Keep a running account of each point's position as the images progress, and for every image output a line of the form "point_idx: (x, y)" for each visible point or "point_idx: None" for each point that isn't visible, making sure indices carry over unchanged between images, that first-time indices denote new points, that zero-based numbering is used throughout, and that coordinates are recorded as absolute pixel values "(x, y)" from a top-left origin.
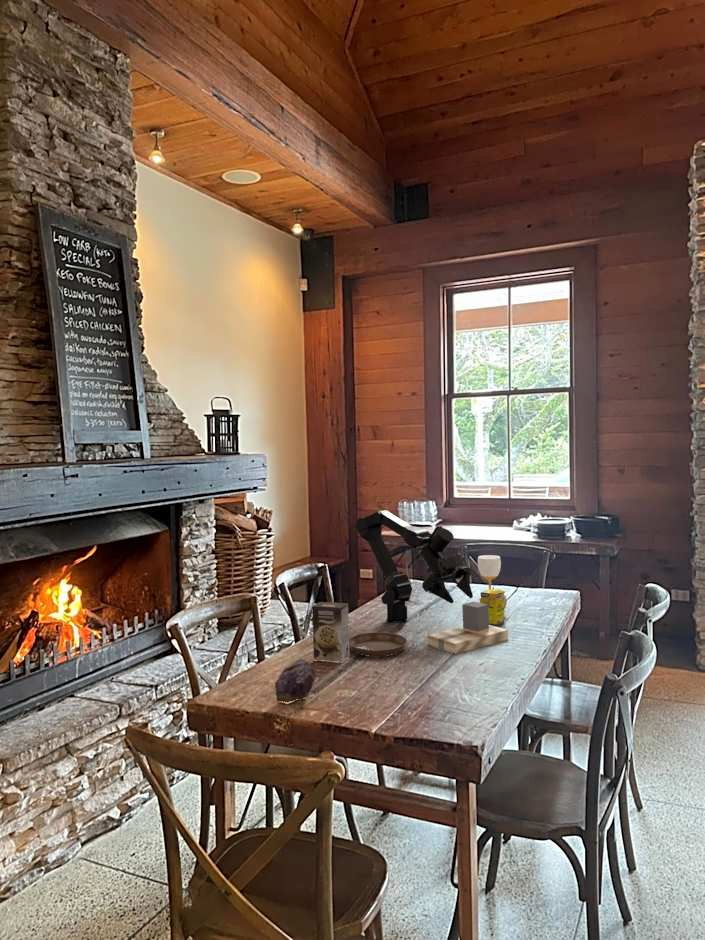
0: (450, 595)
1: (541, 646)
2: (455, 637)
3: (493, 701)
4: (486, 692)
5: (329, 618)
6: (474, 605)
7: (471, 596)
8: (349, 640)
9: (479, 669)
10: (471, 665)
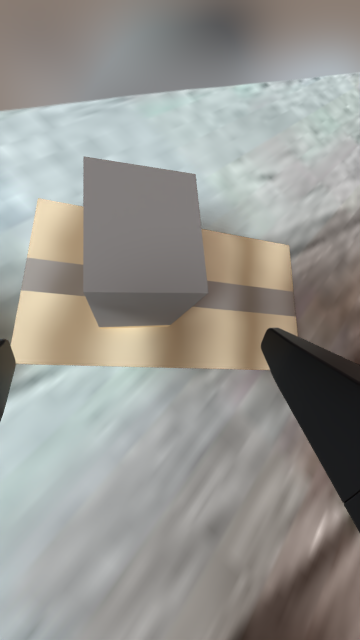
0: (313, 352)
1: (43, 115)
2: (249, 284)
3: (353, 91)
4: (343, 111)
5: None
6: (171, 214)
7: (7, 350)
8: None
9: (291, 164)
10: (288, 188)
